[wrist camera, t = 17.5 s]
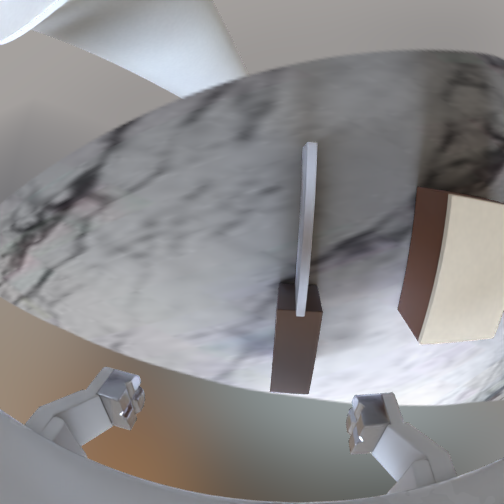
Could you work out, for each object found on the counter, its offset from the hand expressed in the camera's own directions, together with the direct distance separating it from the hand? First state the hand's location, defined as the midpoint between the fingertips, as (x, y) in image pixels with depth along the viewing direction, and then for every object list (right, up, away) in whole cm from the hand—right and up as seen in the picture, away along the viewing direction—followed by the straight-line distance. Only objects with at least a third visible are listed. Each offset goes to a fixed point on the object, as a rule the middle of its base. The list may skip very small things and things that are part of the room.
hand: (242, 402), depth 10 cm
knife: (+3, +5, +6) cm, 9 cm away
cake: (+12, +5, +5) cm, 14 cm away
